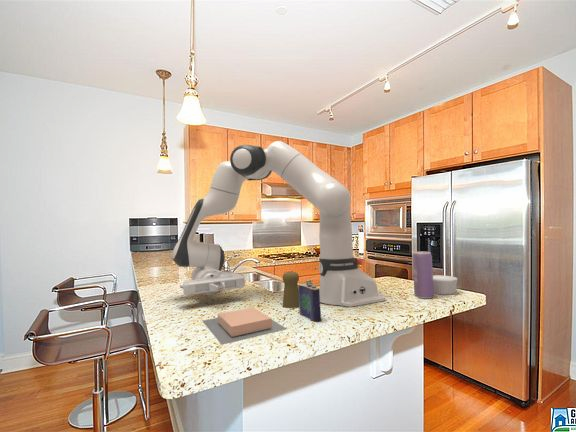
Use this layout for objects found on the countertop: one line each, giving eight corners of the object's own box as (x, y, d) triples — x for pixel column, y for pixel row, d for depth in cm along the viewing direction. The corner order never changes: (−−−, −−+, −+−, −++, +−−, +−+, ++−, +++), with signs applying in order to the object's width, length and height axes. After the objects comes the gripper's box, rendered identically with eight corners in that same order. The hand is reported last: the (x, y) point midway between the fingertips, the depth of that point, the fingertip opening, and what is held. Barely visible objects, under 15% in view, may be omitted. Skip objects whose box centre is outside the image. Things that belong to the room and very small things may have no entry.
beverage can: (437, 298, 91) (434, 252, 92) (419, 299, 91) (416, 253, 92) (428, 294, 97) (426, 251, 98) (411, 295, 97) (409, 251, 98)
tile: (253, 307, 78) (271, 318, 68) (253, 316, 78) (272, 328, 68) (217, 313, 74) (231, 326, 63) (217, 323, 73) (231, 338, 63)
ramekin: (434, 287, 108) (433, 273, 108) (465, 292, 99) (464, 277, 99) (416, 291, 102) (416, 277, 102) (448, 297, 93) (446, 281, 93)
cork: (299, 310, 84) (298, 273, 85) (280, 309, 86) (279, 273, 86) (302, 304, 90) (301, 270, 91) (284, 304, 91) (283, 270, 92)
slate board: (256, 312, 84) (256, 310, 84) (287, 331, 67) (287, 328, 67) (202, 322, 76) (202, 320, 76) (221, 347, 60) (221, 344, 60)
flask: (297, 315, 79) (296, 277, 80) (306, 314, 81) (305, 276, 81) (315, 325, 71) (313, 282, 71) (324, 323, 72) (323, 281, 73)
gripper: (178, 276, 95) (185, 282, 83) (236, 270, 105) (250, 274, 93) (178, 294, 95) (186, 303, 83) (237, 287, 105) (250, 294, 93)
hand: (220, 288), depth 88 cm, fingers closed
